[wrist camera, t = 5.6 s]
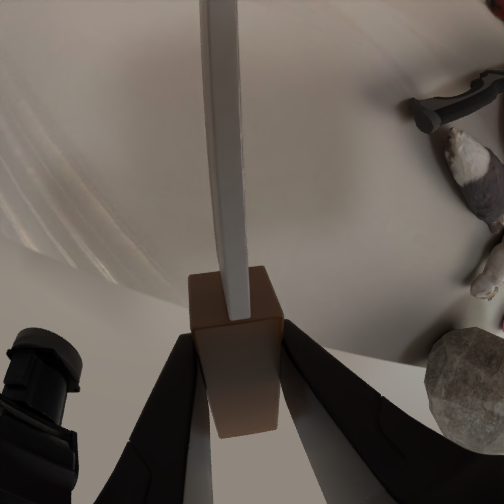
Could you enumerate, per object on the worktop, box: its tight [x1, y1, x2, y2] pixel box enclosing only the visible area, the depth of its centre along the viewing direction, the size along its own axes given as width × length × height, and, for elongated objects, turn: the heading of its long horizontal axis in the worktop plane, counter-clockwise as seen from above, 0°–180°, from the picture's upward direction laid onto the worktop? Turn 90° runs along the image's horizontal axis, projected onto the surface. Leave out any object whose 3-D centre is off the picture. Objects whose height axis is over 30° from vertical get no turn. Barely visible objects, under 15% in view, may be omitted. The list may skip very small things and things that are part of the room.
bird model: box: [444, 127, 504, 233], centre depth 19 cm, size 4×17×5 cm, turn 59°
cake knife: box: [188, 0, 284, 439], centre depth 6 cm, size 14×2×2 cm, turn 2°
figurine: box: [471, 237, 504, 301], centre depth 23 cm, size 4×16×15 cm
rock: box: [424, 327, 504, 455], centre depth 25 cm, size 15×18×15 cm
